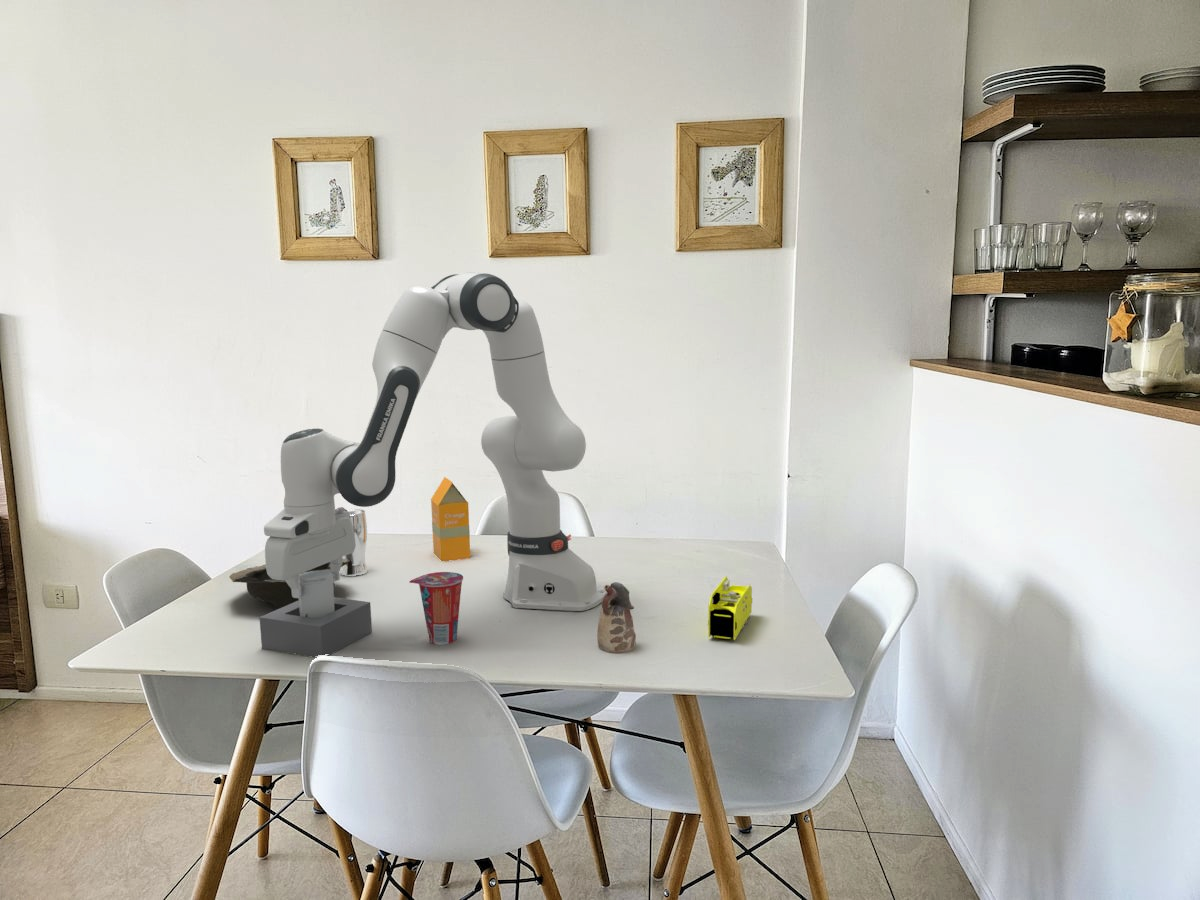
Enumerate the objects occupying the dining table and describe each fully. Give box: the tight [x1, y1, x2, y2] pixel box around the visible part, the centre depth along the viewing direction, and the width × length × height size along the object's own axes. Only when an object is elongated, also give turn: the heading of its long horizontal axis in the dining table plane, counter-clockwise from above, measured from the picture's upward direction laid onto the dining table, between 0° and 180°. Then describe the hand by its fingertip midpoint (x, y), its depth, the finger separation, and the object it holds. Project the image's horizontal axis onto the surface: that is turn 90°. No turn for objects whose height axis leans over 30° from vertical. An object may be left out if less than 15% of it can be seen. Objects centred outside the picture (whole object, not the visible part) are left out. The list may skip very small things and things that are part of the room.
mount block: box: [259, 596, 373, 658], centre depth 157 cm, size 14×14×6 cm
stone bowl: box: [229, 559, 352, 611], centre depth 182 cm, size 25×25×9 cm
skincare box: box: [298, 569, 335, 619], centre depth 156 cm, size 6×4×12 cm
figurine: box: [596, 581, 637, 654], centre depth 151 cm, size 7×7×12 cm
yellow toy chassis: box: [707, 575, 753, 641], centre depth 160 cm, size 16×6×8 cm, turn 159°
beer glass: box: [340, 508, 368, 577], centre depth 199 cm, size 7×7×15 cm
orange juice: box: [430, 476, 471, 562], centre depth 212 cm, size 8×9×20 cm
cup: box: [409, 571, 464, 646], centre depth 155 cm, size 9×8×12 cm
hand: (316, 588), depth 156 cm, fingers open, 8 cm apart
